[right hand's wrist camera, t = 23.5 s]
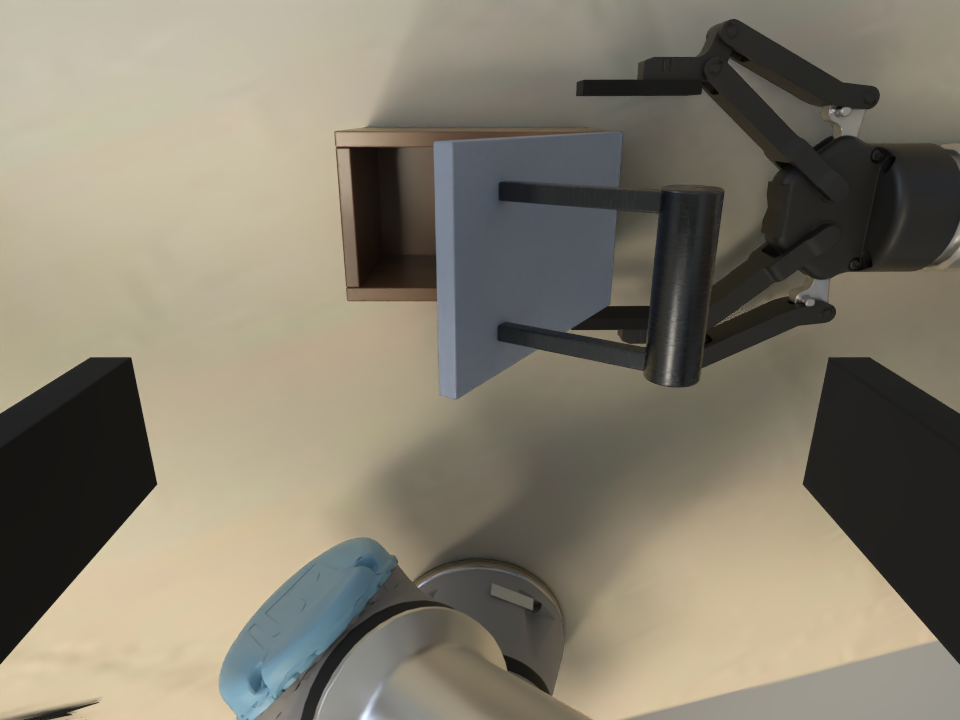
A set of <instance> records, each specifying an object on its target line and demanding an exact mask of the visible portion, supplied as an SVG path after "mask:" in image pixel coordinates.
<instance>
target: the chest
mask: <svg viewBox="0 0 960 720" xmlns="http://www.w3.org/2000/svg"><path fill="white" fill-rule="evenodd" d="M592 132H613V131H606V130H599V129H591V128H586V127H365V128H358V129H350V130H341V131H335V146H336V147H337V148H336V157H337V171H338V184H339V197H340V211H341V224H342V237H343V251H344V264H345V277H346V287H347V288H346V291H347V300H348V301H437V269H436V227H435V185H434V142H435V141H448V140H466V139H484V138H502V137H520V136H538V135H556V134H574V133H592Z"/></svg>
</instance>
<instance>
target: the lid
mask: <svg viewBox="0 0 960 720" xmlns="http://www.w3.org/2000/svg"><path fill="white" fill-rule="evenodd" d="M622 138H623V132H592V133H574V134H556V135H538V136H520V137H502V138H484V139H466V140H448V141H435V142H434V185H435V227H436V269H437V311H438V353H439V394H440V395H441V396H444V397H448V398H452V399H458V398H460V397H461V396H463V395H465V394H466V393H468V392H469V391H471V390H473V389H474V388H476V387H478V386H479V385H481V384H482V383H484V382H486V381H487V380H489V379H490V378H492V377H494V376H495V375H497V374H499V373H500V372H502V371H503V370H505V369H507V368H508V367H510V366H511V365H513V364H515V363H516V362H518V361H520V360H521V359H523V358H524V357H526V356H528V355H529V354H531V353H533V352H534V351H536V350H537V349H540V350H545V351H550V352H554V353H559V354H564V355H569V356H574V357H579V358H584V359H589V360H593V361H598V362H603V363H608V364H613V365H618V366H623V367H628V368H632V369H637V370H642V371H644V372H643V374H644V376H645V378H646V379H647V380H649V381H651V382H653V383H655V384H658V385H662V386H668V387H689V386H693V385H695V384H697V383H698V381H699V380H700V373H701V365H702V358H703V350H704V343H705V335H706V327H707V320H708V312H709V305H710V297H711V289H712V282H713V274H714V267H715V259H716V251H717V244H718V236H719V228H720V221H721V213H722V206H723V198H724V189H722V188H719V187H713V186H702V185H670V186H665V187H663V188H662V189H661V190H658V189H641V188H624V187H619V178H620V165H621V151H622ZM617 210H622V211H635V212H648V213H659V218H658V229H657V239H656V249H655V259H654V270H653V280H652V290H651V300H650V311H649V321H648V331H647V341H646V348H645V347H640V346H635V345H629V344H624V343H619V342H613V341H608V340H602V339H597V338H592V337H586V336H581V335H576V334H570V333H565V332H566V331H568V330H570V329H571V328H573V327H575V326H576V325H578V324H579V323H581V322H583V321H584V320H586V319H588V318H589V317H591V316H592V315H594V314H596V313H597V312H599V311H600V310H602V309H604V308H605V307H607V306H609V305H610V298H611V285H612V272H613V258H614V245H615V232H616V218H617Z"/></svg>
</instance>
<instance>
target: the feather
mask: <svg viewBox="0 0 960 720" xmlns="http://www.w3.org/2000/svg"><path fill="white" fill-rule="evenodd" d="M97 703H99V702H97ZM93 704H96V703H92V704H88V705H84V706H80V707H76V708H71V709H67V710H63V711H59V712H54V713H50V714H46V715H42V716H38V717H33V718H29V719H25V720H51V719H54V718H59V717H64V716H69V715H72V714H70V713H69V714H67V713H68V712H71V711H74V710H77V709H80V708H83V707H87V706H90V705H93ZM74 713H75V712H74ZM80 718H81V717H80ZM67 720H68V719H67ZM86 720H87V719H86Z"/></svg>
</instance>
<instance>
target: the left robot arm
mask: <svg viewBox="0 0 960 720" xmlns="http://www.w3.org/2000/svg"><path fill="white" fill-rule="evenodd" d="M729 58H730V59H732V60H734V61H735V62H737V63H739V64H741V65H742V66H744V67H746V68H747V69H749V70H751V71H753V72H754V73H756V74H758V75H759V76H761V77H763V78H765V79H766V80H768V81H770V82H771V83H773V84H775V85H776V86H778V87H780V88H782V89H783V90H785V91H787V92H788V93H790V94H792V95H794V96H795V97H797V98H799V99H800V100H802V101H804V102H806V103H808V104H811V105H814V106H819V107H822V109H821V111H820V113H821V117H822V119H823V120H824V121H826V122H828V123H830V124H831V125H832V127H833V136H830V137H828V138H826V139H824V140H823V141H821V142H820V143H818V144H817V145H816V146H814V147H813V148H812V147H811V146H810V145H809V144H808V143H807V142H806V141H805V140H804V139H802V138H800V137H798V136H797V135H796V134H795V133H794V132H793V131H792V130H791V129H790V128H789V127H788V126H787V125H786V123H785V122H784V121H783V120H782V119H781V118H780V117H779V116H778V115H777V114H776V113H775V112H774V111H773V110H772V109H771V108H770V107H769V106H768V105H767V104H766V103H765V102H764V101H763V99H762V98H761V97H760V96H759V95H758V94H757V93H756V92H755V91H754V90H753V89H752V88H751V87H750V86H749V85H748V84H747V83H746V82H745V81H744V80H743V79H742V78H741V77H740V75H739V74H738V73H737V72H736V71H735V70H734V69H733V68H732V67H731V66H730V65H729V64H728V63H727V62H728V59H729ZM702 89H703V90H704V91H705V92H706V93H707V94H708V95H709V96H710V97H711V98H712V99H713V100H714V101H715V102H716V103H717V104H718V105H719V106H720V107H721V108H722V109H723V110H724V111H725V112H726V113H727V114H728V115H729V116H730V117H731V118H732V119H733V120H734V121H735V122H736V123H737V124H738V125H739V126H740V127H741V128H742V129H743V130H744V131H745V132H746V133H747V134H748V135H749V136H750V137H751V138H752V139H753V140H754V141H755V142H756V143H757V144H758V145H759V146H760V147H761V149H762V150H763V151H764V154H765V155H766V156H767V158H768V159H769V160H770V161H771V162H772V163H773V164H774V165H775V166H776V167H777V168H778V169H779V170H780V171H779V172H778V173H777V174H776V175H775V177H774V179H773V181H769V183H768V189H767V201H768V209H767V211H766V214H765V216H764V219H763V222H762V229H761V232H762V233H764V235H765V239H766V241H767V242H765V243H764V244H763V245H761V246H760V247H759V248H757V249H756V250H755V251H753V252H752V253H751V254H750V255H749V258H748V260H747V261H745V262H744V263H743V264H741V265H740V266H739V267H737V268H736V269H735V270H733V271H732V272H731V273H729V274H728V275H727V276H725V277H724V278H723V279H721V280H720V281H719V282H717V283H716V284H715V285H713V286H712V289H711V297H710V305H709V312H708V320H707V327H706V335H705V343H704V350H703V358H702V365H701V368H703V367H706V366H708V365H710V364H713V363H715V362H717V361H719V360H722V359H724V358H726V357H728V356H731V355H733V354H735V353H737V352H740V351H742V350H744V349H747V348H749V347H751V346H753V345H756V344H758V343H760V342H762V341H765V340H767V339H769V338H772V337H774V336H776V335H778V334H781V333H783V332H785V331H787V330H790V329H792V328H794V327H796V326H800V325H809V324H818V323H826V322H829V321H831V320H832V319H833V318H834V317H835V314H836V309H835V308H834V306H832V305H830V304H829V303H828V295H829V282H830V278H832V277H834V276H836V275H838V274H841V273H844V272H911V271H917V270H923V271H960V143H951V144H942V145H940V146H938V145H936V144H868V143H865V142H863V141H861V140H860V139H858V138H857V137H858V134H859V130H860V127H861V124H862V120H863V117H864V114H865V110H866V109H871V108H873V107H874V106H875V105H876V104H877V102H878V100H879V96H880V94H879V90H878V89H877V88H876V87H873V86H867V85H859V84H850V83H843V82H841V81H839V80H838V79H836V78H834V77H833V76H831V75H829V74H827V73H826V72H824V71H822V70H821V69H819V68H817V67H816V66H814V65H812V64H811V63H809V62H807V61H806V60H804V59H802V58H801V57H799V56H797V55H796V54H794V53H792V52H791V51H789V50H787V49H786V48H784V47H782V46H781V45H779V44H777V43H776V42H774V41H772V40H771V39H769V38H767V37H765V36H764V35H762V34H760V33H759V32H757V31H755V30H754V29H752V28H750V27H749V26H747V25H745V24H744V23H742V22H740V21H739V20H736V19H732V20H728V21H725V22H723V23H720V24H717V25H715V26H713V27H711V28H710V29H709V31H708V33H707V35H706V42H705V45H704V47H703V49H702V51H701V53H700V54H699V55H698V56H696V57H653V58H650V59H647V60H645V61H642V62H640V63H638V77H637V80H582V81H579V82H577V90H576V96H688V95H699V94H701V92H702ZM797 270H800V271H801V272H802V273H803V274H805V275H807V279H806V281H805V283H804V284H803V285H801V286H799V287H797V288H794V289H792V290H790V292H789V296H788V297H783V298H779V299H776V300H773V301H770V302H768V303H766V304H764V305H761V306H759V307H757V308H755V309H752V310H750V311H748V312H746V313H744V314H741V315H739V316H737V317H735V318H732V319H730V320H728V321H726V322H724V323H721V324H719V325H717V324H718V323H719V322H721V321H722V320H723V319H725V318H726V317H727V316H729V315H730V314H732V313H733V312H734V311H736V310H737V309H738V308H740V307H741V306H742V305H744V304H745V303H747V302H748V301H749V300H751V299H752V298H753V297H755V296H756V295H757V294H759V293H760V292H762V291H763V290H764V289H766V288H767V287H768V286H770V285H771V284H773V283H775V282H779V281H782V280H784V279H786V278H787V277H788V276H790V275H791V274H792V273H794V272H795V271H797ZM649 311H650V306H607V307H605V308H604V309H602V310H600V311H599V312H597V313H596V314H594V315H592V316H591V317H589V318H588V319H586V320H584V321H583V322H581V323H579V324H578V325H576V326H575V327H573V328H571V330H618V335H619V337H620V338H621V340H622V341H624V342H627V343H629V344H638V343H639V344H644V343H646V341H647V331H648V321H649ZM715 325H717V326H715ZM714 326H715V327H714ZM397 563H398V559H397V558H396V556H394V555H390V554H389V553H388V552H387V551H386V550H385V549H384V548H383V547H382V546H381V545H380V544H379V543H378V542H376V541H375V540H372V539H369V538H355V539H351V540H348V541H345V542H343V543H340V544H338V545H336V546H334V547H332V548H331V549H329V550H327V551H325V552H324V553H323V554H321V555H320V556H318V557H316V558H315V559H313V560H312V561H311V562H309V563H308V564H307V565H305V566H304V567H303V568H301V569H300V570H299V571H298V572H297V573H296V574H294V575H293V576H292V577H291V578H290V579H289V580H287V581H286V582H285V583H284V584H283V585H282V586H281V587H280V588H279V589H278V590H277V591H276V592H275V593H274V594H273V595H272V596H271V597H270V598H269V599H268V600H267V601H266V602H265V603H264V604H263V605H262V606H261V607H260V609H259V610H258V611H257V612H256V613H255V614H254V616H253V617H252V618H251V619H250V620H249V622H248V623H247V624H246V625H245V627H244V628H243V630H242V631H241V632H240V634H239V635H238V637H237V639H236V640H235V641H234V643H233V644H232V646H231V648H230V650H229V651H228V653H227V655H226V657H225V660H224V662H223V665H222V667H221V671H220V675H219V691H220V694H221V696H222V698H223V700H224V701H225V702H226V704H227V705H228V706H229V707H230V708H231V709H232V711H233V712H234V713H235V714H236V715H237V720H593V719H591V718H590V717H588V716H586V715H584V714H582V713H581V712H579V711H577V710H575V709H573V708H572V707H570V706H568V705H566V704H565V703H563V702H561V701H559V700H557V699H556V698H554V697H552V695H553V691H554V687H555V683H556V679H557V675H558V671H559V667H560V664H561V660H562V655H563V649H564V628H563V621H562V615H561V611H560V608H559V605H558V603H557V601H556V599H555V597H554V596H553V594H552V593H551V591H550V590H549V589H548V588H547V587H546V586H545V585H544V584H543V583H542V582H541V581H540V580H539V579H538V578H536V577H535V576H534V575H532V574H530V573H529V572H527V571H525V570H523V569H521V568H519V567H517V566H514V565H511V564H508V563H505V562H500V561H495V560H487V559H469V560H461V561H456V562H452V563H448V564H445V565H442V566H440V567H437V568H435V569H433V570H431V571H429V572H428V573H426V574H424V575H423V576H421V577H420V578H419V579H417V580H416V581H415V582H414V583H413V582H412V581H411V580H410V579H409V578H408V577H407V576H406V574H405V573H404V572H403V571H402V570H401V568H400V567H399V566H398V565H397Z"/></svg>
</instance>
